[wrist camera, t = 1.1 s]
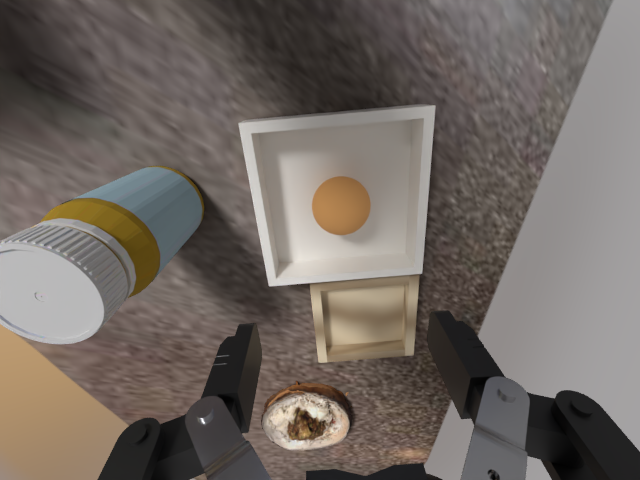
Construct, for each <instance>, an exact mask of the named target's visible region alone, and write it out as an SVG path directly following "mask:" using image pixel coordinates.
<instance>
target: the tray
mask: <svg viewBox="0 0 640 480" xmlns="http://www.w3.org/2000/svg"><path fill="white" fill-rule="evenodd" d="M419 276H420V275H419V274H413V275H401V276H389V277H377V278H365V279H353V280H341V281H329V282H317V283H310V292H311V300H312V309H313V318H314V326H315V335H316V344H317V352H318V361H319V363H323V362H336V361H349V360H361V359H374V358H386V357H399V356H411V355H414V343H415V329H416V316H417V303H418V289H419Z"/></svg>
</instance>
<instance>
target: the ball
mask: <svg viewBox="0 0 640 480" xmlns="http://www.w3.org/2000/svg"><path fill="white" fill-rule="evenodd" d="M370 207H371V203H370V197H369V195H368V192H367V190H366V189H365V188H364V186H363V185H362V184H361V183H360V182H358V181H357V180H355V179H353V178H350V177H345V176H338V177H333V178H330V179H328V180H326V181H325V182H323V183H322V184H321V185H320V186H319V187H318V189H317V190H316V192H315V194H314V196H313V200H312V212H313V215H314V218H315V220H316V222H317V223H318V225H319V226H320V227H321V228H322V229H324V230H325V231H327V232H329V233H331V234H335V235H347V234H351V233H353V232H355V231H357V230H358V229H360V228H361V227H362V226H363V225H364V224H365V222H366V221H367V219H368V217H369V214H370Z"/></svg>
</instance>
